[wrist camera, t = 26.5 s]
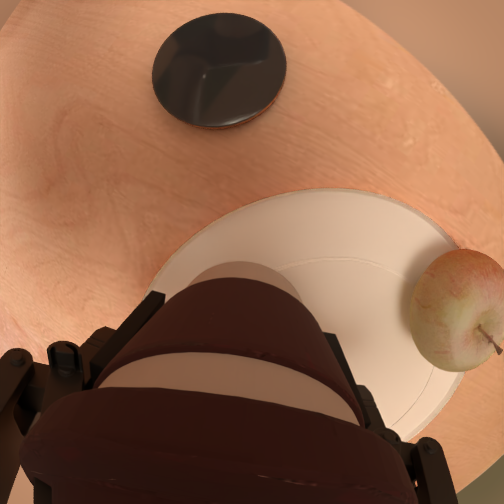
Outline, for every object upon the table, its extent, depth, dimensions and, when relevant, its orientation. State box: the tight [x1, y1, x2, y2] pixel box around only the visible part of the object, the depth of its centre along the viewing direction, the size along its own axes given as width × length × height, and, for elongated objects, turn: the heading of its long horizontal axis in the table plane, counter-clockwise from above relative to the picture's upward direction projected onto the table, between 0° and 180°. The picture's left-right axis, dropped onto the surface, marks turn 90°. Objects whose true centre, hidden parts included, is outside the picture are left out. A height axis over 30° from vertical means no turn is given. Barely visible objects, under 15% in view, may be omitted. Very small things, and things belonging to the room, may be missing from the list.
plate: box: [142, 188, 465, 442], centre depth 20 cm, size 28×28×1 cm
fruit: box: [409, 249, 504, 372], centre depth 14 cm, size 8×7×8 cm
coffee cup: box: [19, 261, 418, 504], centre depth 10 cm, size 10×10×15 cm
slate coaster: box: [152, 13, 286, 129], centre depth 15 cm, size 8×8×1 cm
